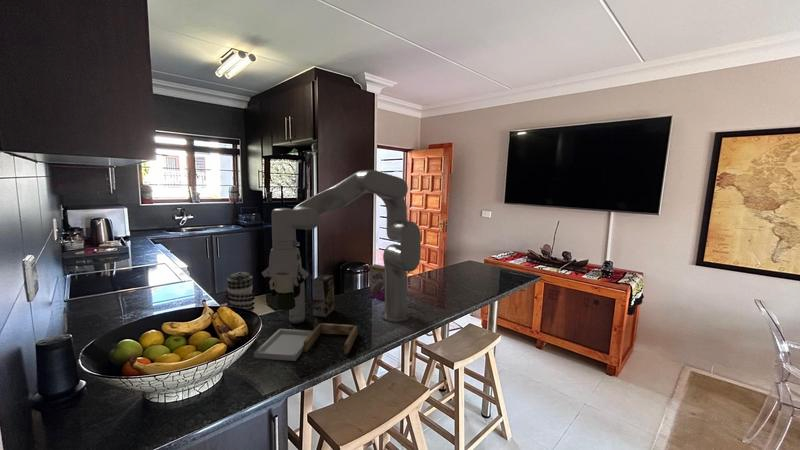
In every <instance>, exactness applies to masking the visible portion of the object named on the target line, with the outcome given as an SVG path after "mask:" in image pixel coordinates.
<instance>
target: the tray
mask: <svg viewBox="0 0 800 450" xmlns="http://www.w3.org/2000/svg"><path fill="white" fill-rule="evenodd" d="M312 331H313V330H305V329H293V328H292V329H291V328H290V329H288V328H278V329H277V330H276V331H275V332H274V333H273V334H272V335H271V336H270V337H269V338H268V339H266V340H265V342H263V343H262V345H260V346H259V347H258V348H257V349H256V350H255V351H254V352H253V358H254V359H266V360H279V361H291V362H292V361H293V362H296V361H297V360H298V358H299V357H300V356H301V354H302V353H303V352H304V341H305V340H306V338H307V337H308V336H309V335H310V333H311V332H312Z"/></svg>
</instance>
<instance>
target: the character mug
mask: <svg viewBox="0 0 800 450" xmlns="http://www.w3.org/2000/svg"><path fill="white" fill-rule="evenodd" d="M299 278H300V275H299ZM273 283H274V287H273ZM294 286H295V284H294V282H293V279H292V278H291V275H290V274H288V275H278V274H275V275H274V280H271V281H270V284H269V289H270V291H271V290H273V289H275V291H276V292H278V294H277V299H276V307H275V308H276V309H277V310H280V311H289V310H291V309H293V308H295V306H296V304H295V297H294V293H293V292H292V291H294Z"/></svg>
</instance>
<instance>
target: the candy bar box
mask: <svg viewBox="0 0 800 450" xmlns="http://www.w3.org/2000/svg"><path fill="white" fill-rule="evenodd" d="M368 291H369V295H368V297H369V298H372V299H375V300H380V301H384V302H385V267H384V265H381V264H376V263H375V264H371V265H369V289H368Z"/></svg>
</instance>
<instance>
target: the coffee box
mask: <svg viewBox="0 0 800 450" xmlns="http://www.w3.org/2000/svg"><path fill="white" fill-rule="evenodd" d="M334 310H335V275H333V274H332V275H331V274H320V275H318V276H317V277H315V278H313V279H312V316H315V317H324V318H325V317H328V316H329V314H331V313H332V312H333V311H334Z"/></svg>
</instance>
